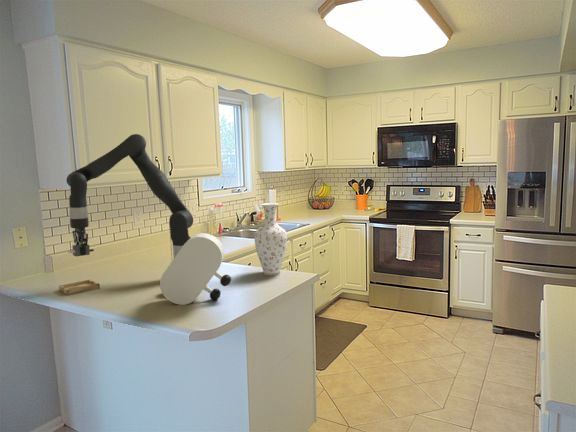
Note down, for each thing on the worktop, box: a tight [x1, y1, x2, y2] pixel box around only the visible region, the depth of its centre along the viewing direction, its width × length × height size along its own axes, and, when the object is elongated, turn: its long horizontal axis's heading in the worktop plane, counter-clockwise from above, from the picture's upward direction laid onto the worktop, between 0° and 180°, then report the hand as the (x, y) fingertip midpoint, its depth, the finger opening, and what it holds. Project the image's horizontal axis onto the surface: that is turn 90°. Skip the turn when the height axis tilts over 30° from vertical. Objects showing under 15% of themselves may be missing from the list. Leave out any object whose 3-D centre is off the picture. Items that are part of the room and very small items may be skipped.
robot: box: [159, 232, 232, 306], centre depth 181 cm, size 30×9×24 cm
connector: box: [67, 244, 95, 257], centre depth 202 cm, size 4×11×4 cm, turn 133°
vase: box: [254, 202, 288, 276], centre depth 220 cm, size 16×16×35 cm
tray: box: [58, 279, 101, 296], centre depth 203 cm, size 11×14×2 cm
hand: (81, 253), depth 203 cm, fingers closed on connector, 4 cm apart
